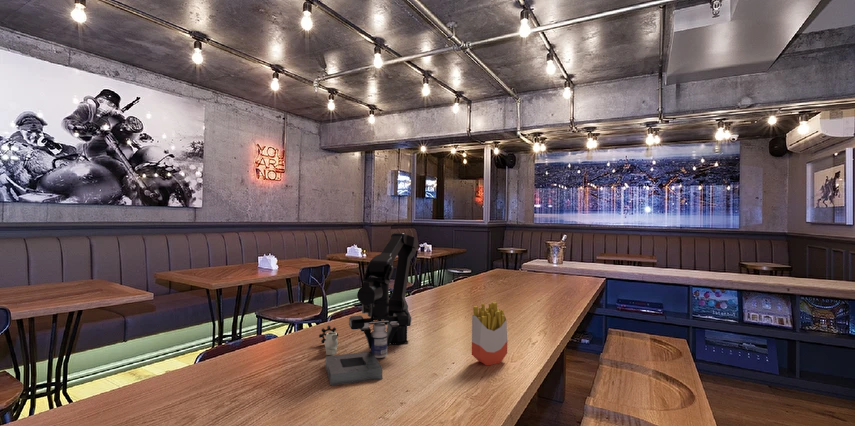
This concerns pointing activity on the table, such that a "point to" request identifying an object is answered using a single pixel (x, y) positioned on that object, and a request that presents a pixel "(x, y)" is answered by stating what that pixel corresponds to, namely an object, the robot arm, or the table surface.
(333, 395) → the table surface
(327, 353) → the valve
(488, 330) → the french fries container
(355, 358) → the holder
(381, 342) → the pill bottle
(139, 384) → the table surface
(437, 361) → the table surface
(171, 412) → the table surface
